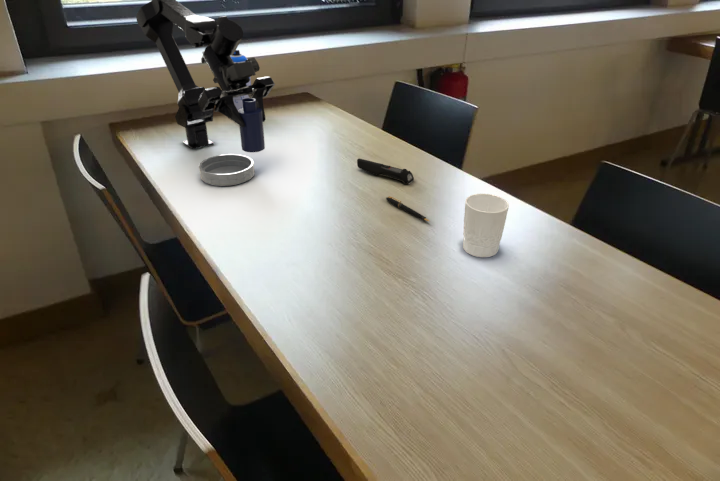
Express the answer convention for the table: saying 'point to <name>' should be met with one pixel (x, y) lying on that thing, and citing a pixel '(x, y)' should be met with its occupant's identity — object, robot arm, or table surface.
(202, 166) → the steel dish
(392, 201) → the fountain pen
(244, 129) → the dark blue vase
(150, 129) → the table surface
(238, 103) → the aerosol can
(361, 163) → the electric trimmer
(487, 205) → the white cup
